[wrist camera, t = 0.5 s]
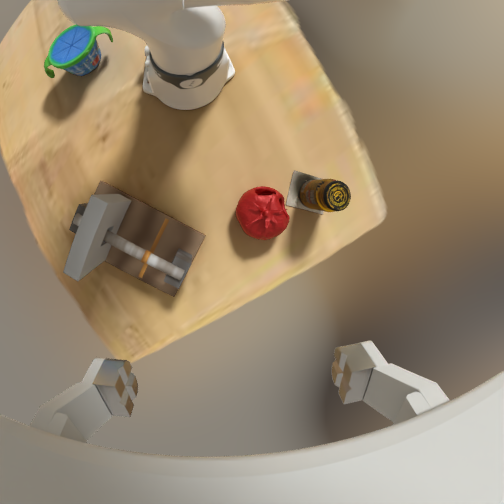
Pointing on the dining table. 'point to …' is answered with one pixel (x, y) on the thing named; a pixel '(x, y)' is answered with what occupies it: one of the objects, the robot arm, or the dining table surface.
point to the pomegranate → (262, 213)
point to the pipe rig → (148, 243)
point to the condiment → (317, 193)
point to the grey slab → (95, 233)
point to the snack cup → (76, 50)
